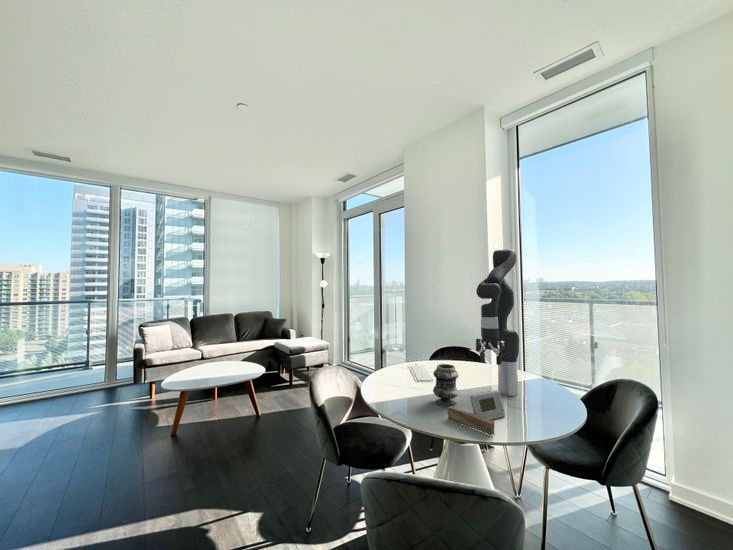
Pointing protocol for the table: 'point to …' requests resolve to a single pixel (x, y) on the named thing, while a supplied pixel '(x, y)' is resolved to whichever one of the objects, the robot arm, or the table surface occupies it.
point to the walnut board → (471, 420)
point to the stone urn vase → (445, 385)
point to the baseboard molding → (420, 373)
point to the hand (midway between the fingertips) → (490, 363)
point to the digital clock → (488, 405)
